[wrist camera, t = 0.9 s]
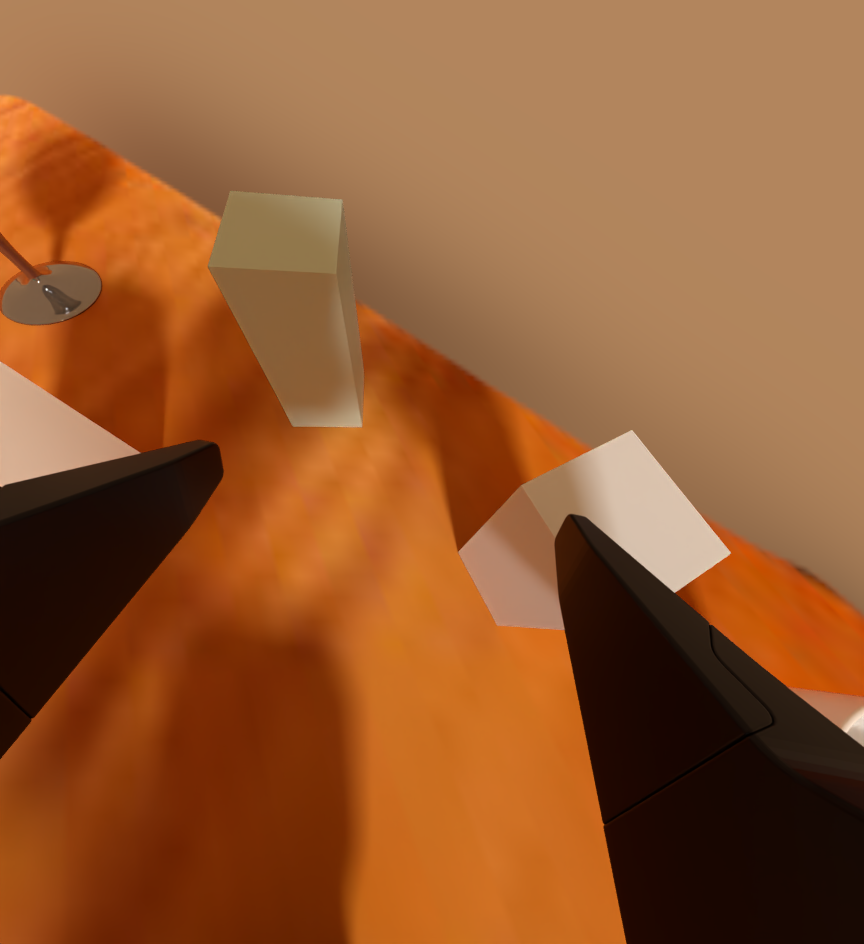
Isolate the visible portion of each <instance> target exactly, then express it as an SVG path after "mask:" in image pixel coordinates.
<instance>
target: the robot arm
mask: <svg viewBox="0 0 864 944" xmlns="http://www.w3.org/2000/svg"><path fill="white" fill-rule="evenodd" d="M223 472H224V471H223V464H222V459H221V454H220V449H219V446H218V445H217V444H216V443H214V442H209V441H204V440H195V441H191V442H187V443H183V444H178V445H174V446H170V447H165V448H161V449H157V450H152V451H148V452H144V453H139V454H135V455H131V456H127V457H122V458H118V459H114V460H109V461H105V462H101V463H96V464H92V465H88V466H83V467H79V468H75V469H70V470H66V471H62V472H58V473H53V474H49V475H45V476H40V477H36V478H32V479H27V480H23V481H19V482H14V483H10V484H6V485H4V486H3V487H1V486H0V759H1V758H2V756H3V755H4V754H5V753H6V752H7V750H8V749H9V748H10V747H11V746H12V744H13V743H14V742H15V741H16V739H17V738H18V737H19V736H20V735H21V733H22V732H23V731H24V730H25V728H26V727H27V726H28V725H29V724H30V722H31V721H32V720H31V719H32V718H34V717H35V716H36V715H37V713H38V712H39V711H40V710H41V709H42V707H43V706H44V705H45V704H46V702H47V701H48V700H49V699H50V698H51V696H52V695H53V694H54V693H55V692H56V690H57V689H58V688H59V687H60V685H61V684H62V683H63V682H64V681H65V679H66V678H67V677H68V676H69V674H70V673H71V672H72V671H73V670H74V668H75V667H76V666H77V665H78V664H79V662H80V661H81V660H82V659H83V657H84V656H85V655H86V654H87V653H88V651H89V650H90V649H91V648H92V646H93V645H94V644H95V643H96V642H97V640H98V639H99V638H100V637H101V636H102V634H103V633H104V632H105V631H106V629H107V628H108V627H109V626H110V625H111V623H112V622H113V621H114V620H115V618H116V617H117V616H118V615H119V614H120V612H121V611H122V610H123V609H124V608H125V606H126V605H127V604H128V603H129V601H130V600H131V599H132V598H133V597H134V595H135V594H136V593H137V592H138V591H139V589H140V588H141V587H142V586H143V584H144V583H145V582H146V581H147V580H148V578H149V577H150V576H151V575H152V573H153V572H154V571H155V570H156V569H157V567H158V566H159V565H160V564H161V563H162V561H163V560H164V559H165V558H166V556H167V555H168V554H169V553H170V552H171V550H172V549H173V548H174V547H175V545H176V544H177V543H178V542H179V541H180V539H181V538H182V537H183V536H184V534H185V533H186V532H187V531H188V529H189V528H190V527H191V525H192V524H193V522H194V521H195V520H196V518H197V517H198V515H199V514H200V512H201V510H202V509H203V507H204V506H205V504H206V503H207V501H208V500H209V498H210V497H211V495H212V494H213V492H214V491H215V489H216V487H217V486H218V484H219V483H220V481H221V480H222V477H223ZM554 548H555V561H556V574H557V586H558V596H559V603H560V609H561V614H562V619H563V624H564V629H565V634H566V639H567V644H568V649H569V654H570V659H571V664H572V669H573V674H574V679H575V684H576V690H577V695H578V700H579V705H580V710H581V715H582V720H583V725H584V730H585V735H586V740H587V745H588V750H589V755H590V760H591V765H592V770H593V775H594V780H595V785H596V791H597V796H598V801H599V806H600V811H601V816H602V821H603V823H604V824H605V825H604V832H605V837H606V842H607V848H608V853H609V858H610V863H611V868H612V873H613V878H614V883H615V888H616V893H617V898H618V903H619V908H620V913H621V918H622V923H623V928H624V933H625V938H626V943H627V944H864V746H862V745H861V744H860V743H858V742H857V741H856V740H855V739H853V738H852V737H851V736H849V735H848V734H847V733H846V732H844V731H843V730H842V729H840V728H839V727H838V726H837V725H835V724H834V723H833V722H832V721H830V720H829V719H828V718H826V717H825V716H824V715H823V714H821V713H820V712H819V711H817V710H816V709H815V708H814V707H812V706H811V705H810V704H808V703H807V702H806V701H805V700H803V699H802V698H801V697H800V696H798V695H797V694H796V693H794V692H793V691H792V690H791V689H789V688H788V687H787V686H786V685H784V684H783V683H782V682H780V681H779V680H778V679H777V678H775V677H774V676H773V675H772V674H770V673H769V672H768V671H767V670H765V669H764V668H763V667H762V666H760V665H759V664H758V663H757V662H755V661H754V660H753V659H752V658H751V657H749V656H748V655H747V654H746V653H745V652H743V651H742V650H741V649H740V648H739V647H737V646H736V645H735V644H734V643H733V642H731V641H730V640H729V639H728V638H727V637H726V636H724V635H723V634H722V633H721V632H720V631H719V630H718V629H716V628H715V627H714V626H713V625H709V622H708V621H707V620H706V619H705V618H703V617H702V616H701V615H700V614H699V613H698V612H696V611H695V610H694V609H693V608H692V607H691V606H689V605H688V604H687V603H686V602H685V601H684V600H682V599H681V598H680V597H679V596H678V595H677V594H675V593H674V592H673V591H672V590H671V589H670V588H668V587H667V586H666V585H665V584H664V583H663V582H661V581H660V580H659V579H658V578H657V577H655V576H654V575H653V574H652V573H651V572H650V571H648V570H647V569H646V568H645V567H644V566H643V565H641V564H640V563H639V562H638V561H637V560H636V559H634V558H633V557H632V556H631V555H630V554H629V553H627V552H626V551H625V550H624V549H623V548H622V547H620V546H619V545H618V544H617V543H616V542H615V541H613V540H612V539H611V538H610V537H609V536H608V535H606V534H605V533H604V532H603V531H602V530H601V529H599V528H598V527H597V526H596V525H595V524H594V523H592V522H591V521H590V520H589V519H588V518H587V517H585V516H581V515H576V514H568V515H567V516H566V518H565V519H564V521H563V523H562V525H561V527H560V529H559V531H558V533H557V535H556V538H555V542H554Z"/></svg>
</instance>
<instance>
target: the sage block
mask: <svg viewBox="0 0 864 944" xmlns="http://www.w3.org/2000/svg"><path fill="white" fill-rule="evenodd" d="M208 268H209V270H210V272H211V274H212V276H213V277H214V279H215V281H216V283H217V285H218V287H219V289H220V291H221V292H222V294H223V296H224V298H225V300H226V302H227V304H228V306H229V307H230V309H231V311H232V313H233V315H234V317H235V319H236V321H237V323H238V324H239V326H240V328H241V330H242V332H243V334H244V336H245V338H246V339H247V341H248V343H249V345H250V347H251V349H252V351H253V353H254V354H255V356H256V358H257V360H258V362H259V364H260V366H261V368H262V369H263V371H264V373H265V375H266V377H267V379H268V381H269V383H270V385H271V386H272V388H273V390H274V392H275V394H276V396H277V398H278V400H279V401H280V403H281V405H282V407H283V409H284V411H285V413H286V415H287V416H288V418H289V420H290V422H291V424H292V426H293V427H362V423H363V395H364V367H363V359H362V351H361V343H360V335H359V327H358V319H357V311H356V303H355V295H354V287H353V279H352V271H351V264H350V256H349V247H348V239H347V232H346V224H345V216H344V208H343V200H340V199H327V198H314V197H302V196H288V195H277V194H264V193H251V192H239V191H230V194H229V197H228V200H227V204H226V207H225V210H224V214H223V217H222V220H221V224H220V227H219V230H218V234H217V237H216V240H215V244H214V247H213V250H212V254H211V257H210V261H209V264H208Z"/></svg>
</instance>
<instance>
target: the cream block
mask: <svg viewBox="0 0 864 944" xmlns="http://www.w3.org/2000/svg"><path fill="white" fill-rule="evenodd" d="M139 453H140V452H139V451H137V450H135V449H134V448H132V447H131V446H129V445H128V444H126V443H125V442H123V441H122V440H120V439H119V438H117V437H116V436H114V435H112V434H111V433H109V432H108V431H106V430H105V429H103V428H102V427H100V426H99V425H97V424H96V423H94V422H92V421H91V420H89V419H88V418H86V417H85V416H83V415H82V414H80V413H79V412H77V411H76V410H74V409H73V408H71V407H69V406H68V405H66V404H65V403H63V402H62V401H60V400H59V399H57V398H56V397H54V396H53V395H51V394H49V393H48V392H46V391H45V390H43V389H42V388H40V387H39V386H37V385H36V384H34V383H33V382H31V381H29V380H28V379H26V378H25V377H23V376H22V375H20V374H19V373H17V372H16V371H14V370H13V369H11V368H10V367H8V366H6V365H5V364H3V363H2V362H0V486H1V487H3V486H4V485H6V484H10V483H14V482H19V481H23V480H27V479H32V478H36V477H40V476H45V475H49V474H53V473H58V472H62V471H66V470H70V469H75V468H79V467H83V466H88V465H92V464H96V463H101V462H105V461H109V460H114V459H118V458H122V457H127V456H131V455H135V454H139Z"/></svg>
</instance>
